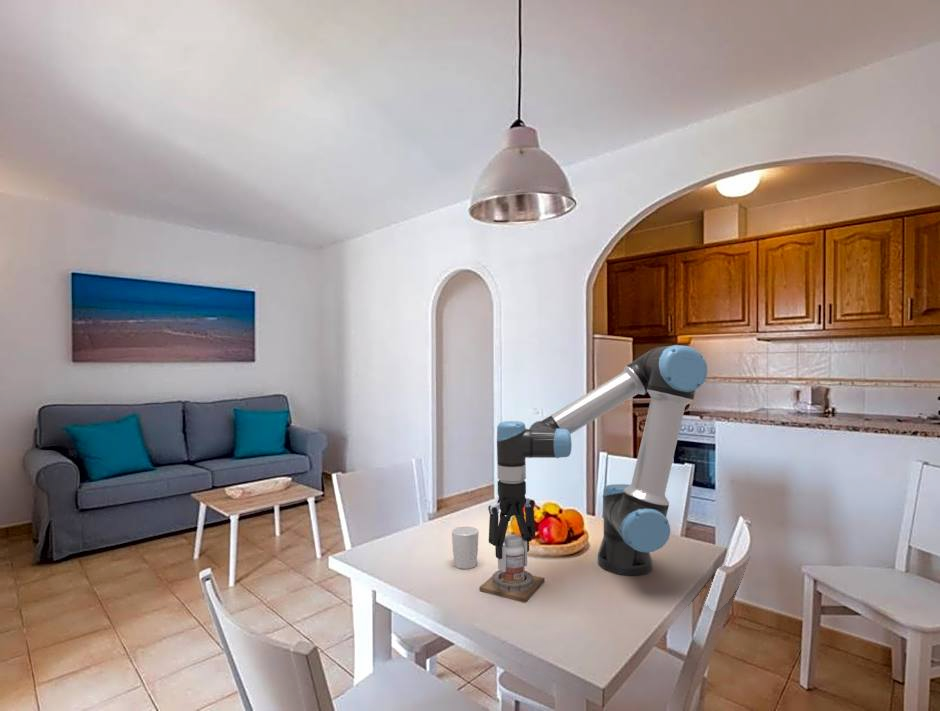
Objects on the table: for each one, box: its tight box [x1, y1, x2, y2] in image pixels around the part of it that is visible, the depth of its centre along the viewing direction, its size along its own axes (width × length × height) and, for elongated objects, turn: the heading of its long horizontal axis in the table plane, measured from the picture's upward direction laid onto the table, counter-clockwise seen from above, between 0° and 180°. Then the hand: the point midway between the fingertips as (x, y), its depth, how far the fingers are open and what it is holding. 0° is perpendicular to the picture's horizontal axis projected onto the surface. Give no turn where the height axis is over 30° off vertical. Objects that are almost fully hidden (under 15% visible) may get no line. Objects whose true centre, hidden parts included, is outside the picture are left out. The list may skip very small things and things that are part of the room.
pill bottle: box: [501, 533, 526, 583], centre depth 129 cm, size 6×6×11 cm
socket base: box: [478, 569, 546, 603], centre depth 129 cm, size 13×13×2 cm
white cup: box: [451, 525, 479, 570], centre depth 144 cm, size 8×8×10 cm
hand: (512, 567), depth 130 cm, fingers closed on pill bottle, 6 cm apart
